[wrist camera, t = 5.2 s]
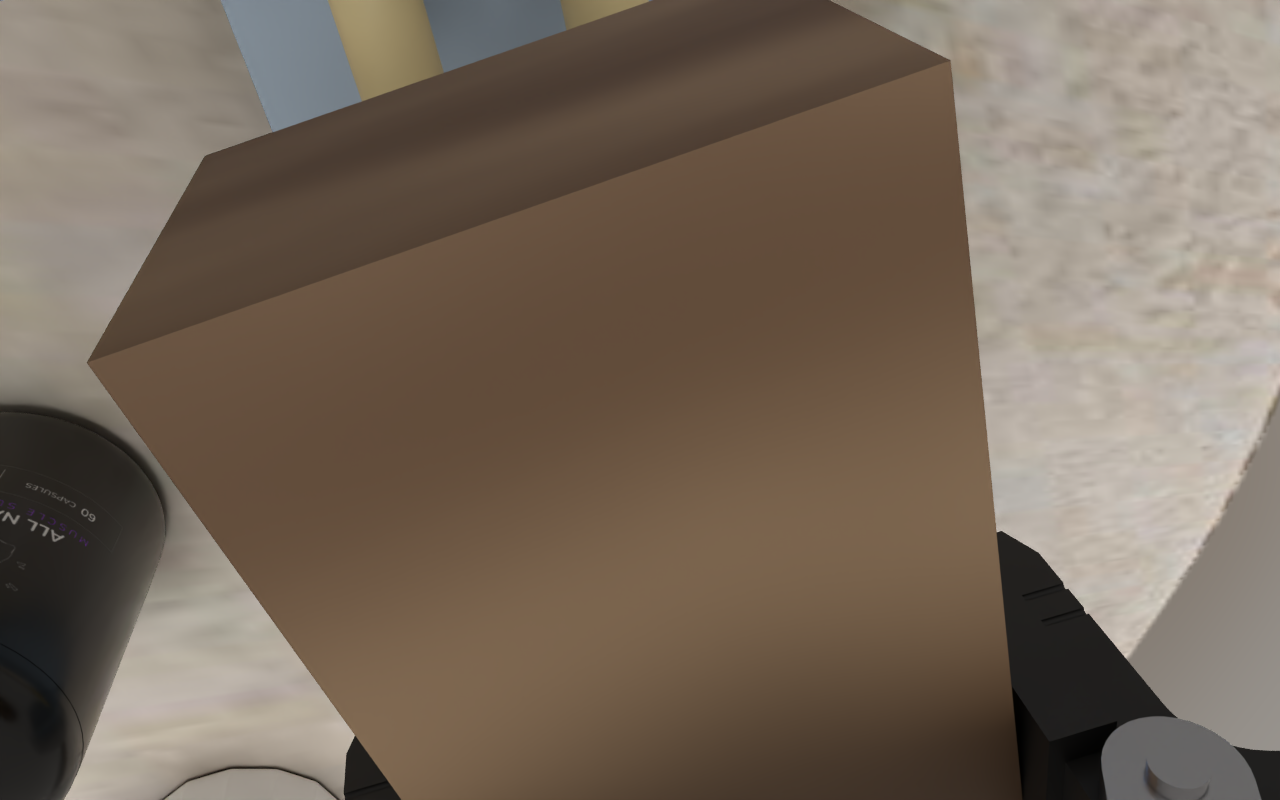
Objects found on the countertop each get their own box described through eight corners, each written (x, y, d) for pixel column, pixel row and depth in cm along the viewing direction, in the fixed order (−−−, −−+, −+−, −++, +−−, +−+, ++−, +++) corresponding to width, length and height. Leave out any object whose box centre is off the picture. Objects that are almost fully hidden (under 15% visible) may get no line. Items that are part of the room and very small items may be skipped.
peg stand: (172, -146, 20) (-93, -95, 10) (695, -260, 20) (954, -324, 10) (452, 572, 31) (464, 949, 21) (789, 483, 31) (961, 806, 21)
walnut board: (205, 155, 9) (86, 363, 6) (756, -36, 9) (950, 61, 6) (638, 934, 17) (691, 1204, 14) (928, 830, 18) (1049, 1072, 14)
